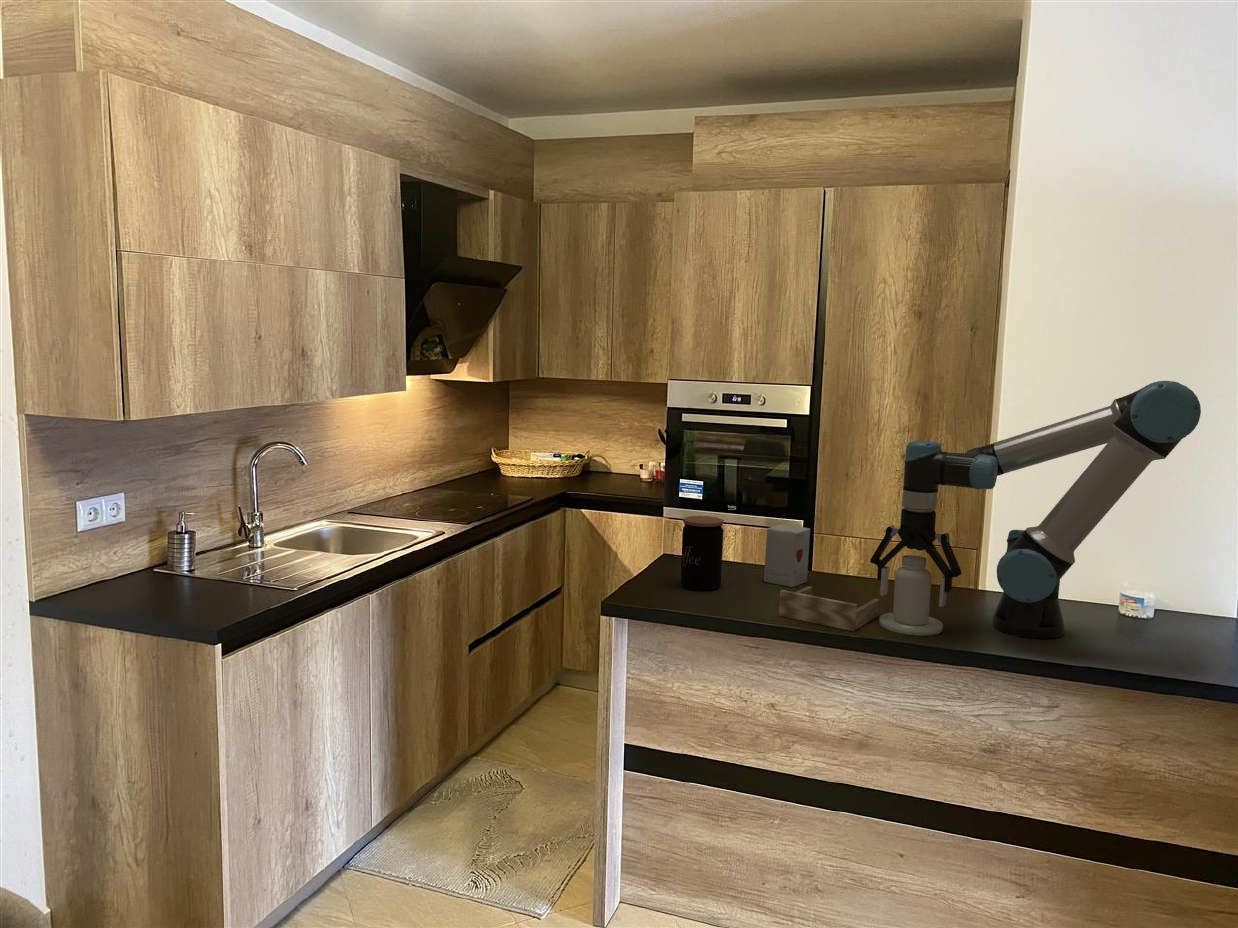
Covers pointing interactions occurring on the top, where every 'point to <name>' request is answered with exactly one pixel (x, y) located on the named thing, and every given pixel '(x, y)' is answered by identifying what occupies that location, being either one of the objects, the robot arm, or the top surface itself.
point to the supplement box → (787, 555)
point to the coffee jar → (702, 553)
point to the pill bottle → (912, 591)
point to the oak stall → (826, 610)
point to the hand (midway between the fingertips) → (912, 599)
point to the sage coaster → (911, 626)
